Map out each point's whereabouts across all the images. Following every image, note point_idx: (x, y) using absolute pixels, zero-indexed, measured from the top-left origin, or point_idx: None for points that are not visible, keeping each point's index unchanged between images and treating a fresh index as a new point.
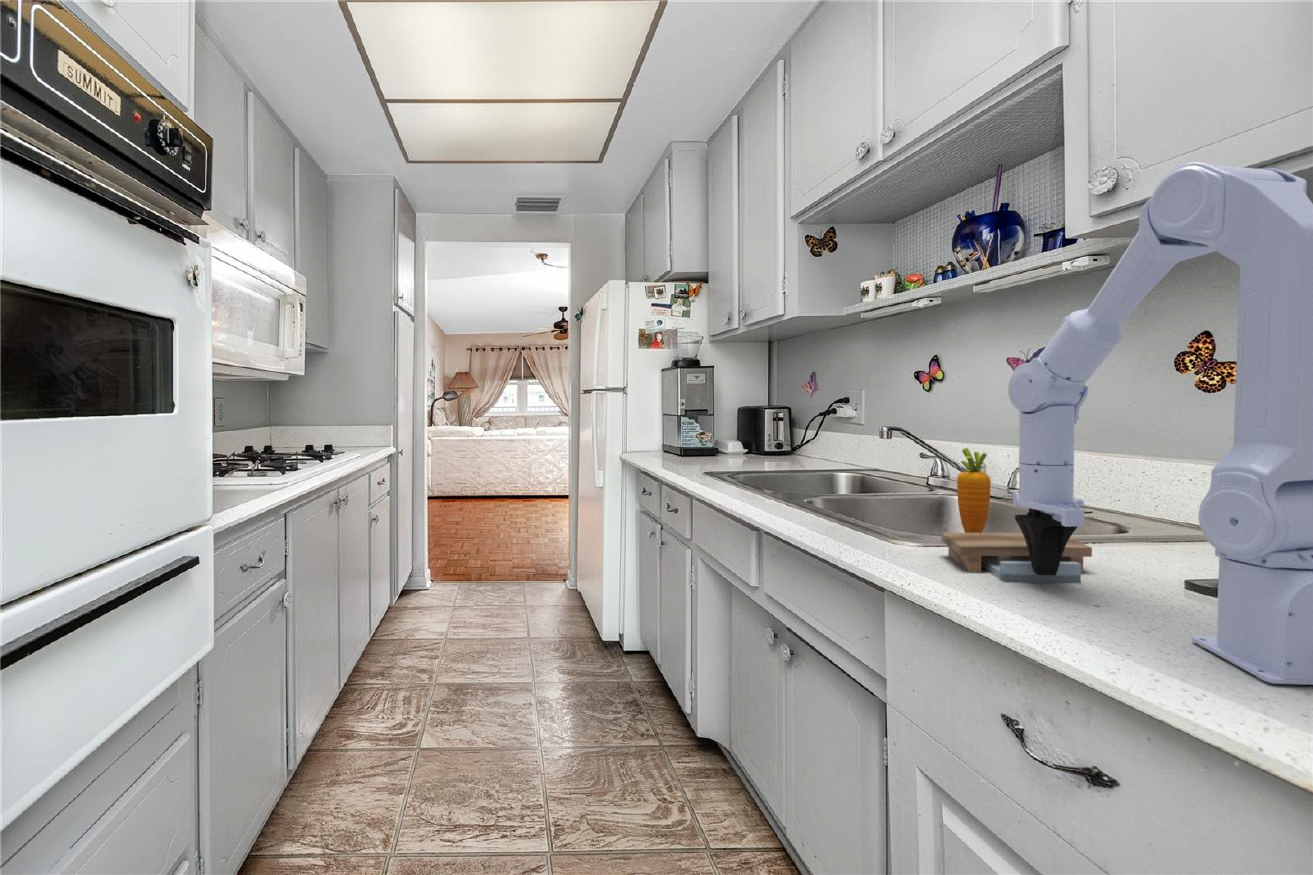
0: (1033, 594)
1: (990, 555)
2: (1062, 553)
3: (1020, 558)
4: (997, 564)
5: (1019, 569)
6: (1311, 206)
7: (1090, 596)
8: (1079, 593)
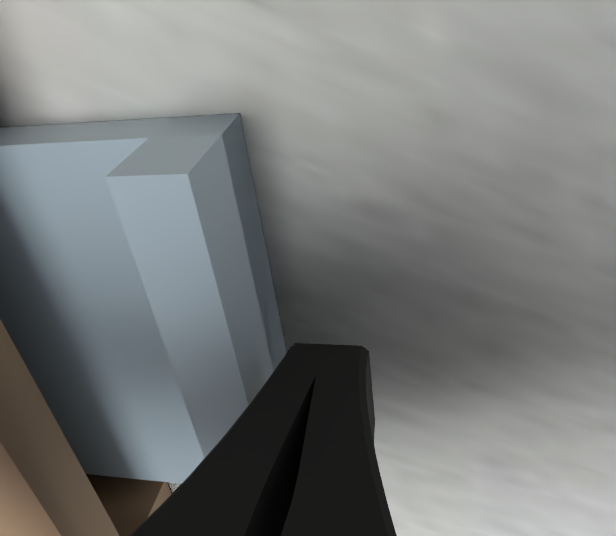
0: (534, 440)
1: (113, 530)
2: (371, 467)
3: None
4: (101, 449)
5: None
6: None
7: (601, 189)
8: (521, 227)
